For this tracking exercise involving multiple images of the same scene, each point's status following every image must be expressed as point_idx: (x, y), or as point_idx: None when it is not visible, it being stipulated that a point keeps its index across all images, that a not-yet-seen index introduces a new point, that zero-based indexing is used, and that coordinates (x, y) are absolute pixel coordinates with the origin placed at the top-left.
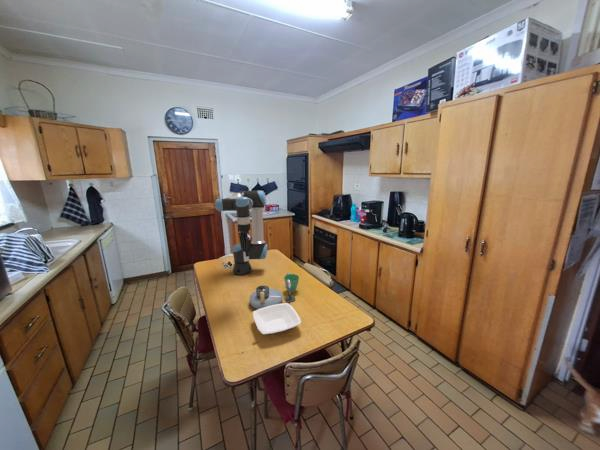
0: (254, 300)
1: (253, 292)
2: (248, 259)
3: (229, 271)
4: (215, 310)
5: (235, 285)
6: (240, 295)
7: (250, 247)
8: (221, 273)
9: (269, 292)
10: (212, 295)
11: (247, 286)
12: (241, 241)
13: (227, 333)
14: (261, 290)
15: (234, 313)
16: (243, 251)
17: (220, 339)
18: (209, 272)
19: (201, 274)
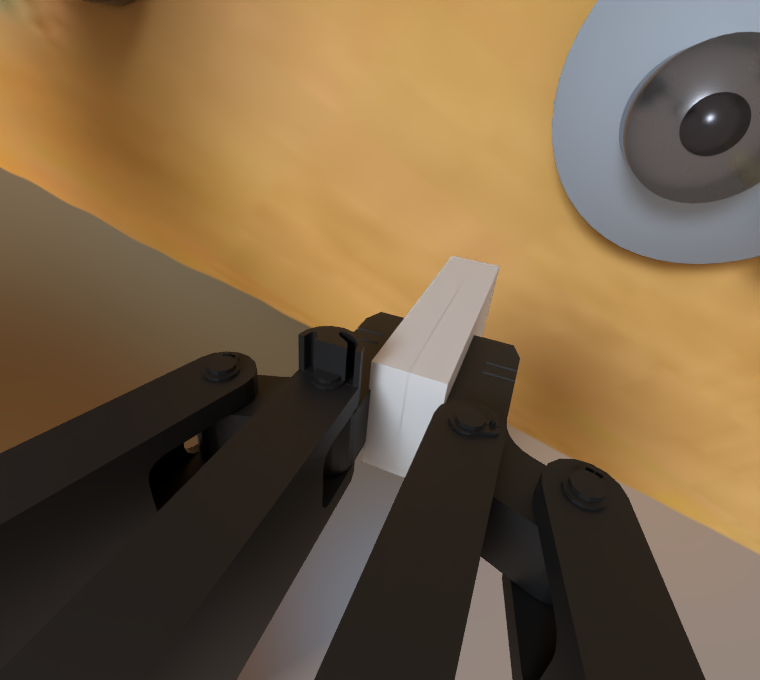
0: (666, 229)
1: (552, 143)
2: (491, 288)
3: (63, 8)
4: None
5: (283, 115)
6: (430, 182)
7: (683, 647)
8: (76, 81)
9: (720, 11)
10: (307, 292)
11: (355, 48)
12: (14, 639)
13: (691, 470)
14: (729, 163)
15: (577, 342)
16: (377, 461)
17: (692, 507)
18: (40, 136)
19: (52, 187)
